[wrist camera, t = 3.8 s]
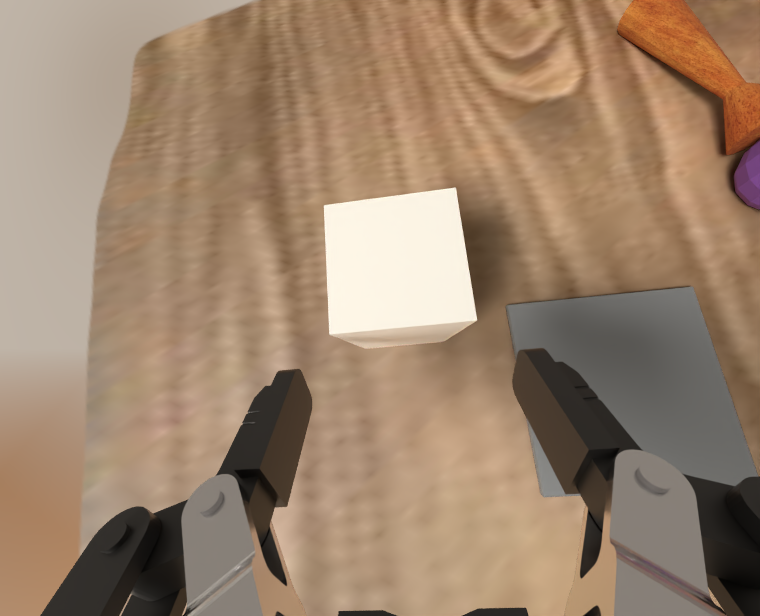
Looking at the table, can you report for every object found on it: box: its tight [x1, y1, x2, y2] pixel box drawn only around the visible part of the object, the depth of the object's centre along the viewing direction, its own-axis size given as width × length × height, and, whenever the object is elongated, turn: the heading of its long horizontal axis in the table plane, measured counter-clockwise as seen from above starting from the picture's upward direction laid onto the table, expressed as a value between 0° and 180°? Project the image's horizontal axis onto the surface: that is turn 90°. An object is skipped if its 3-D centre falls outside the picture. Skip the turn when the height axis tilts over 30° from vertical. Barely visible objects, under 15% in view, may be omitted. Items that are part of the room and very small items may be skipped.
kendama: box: [617, 0, 760, 210], centre depth 19 cm, size 6×6×20 cm
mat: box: [506, 287, 758, 497], centre depth 17 cm, size 12×12×1 cm
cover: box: [324, 188, 477, 349], centre depth 15 cm, size 6×6×10 cm
